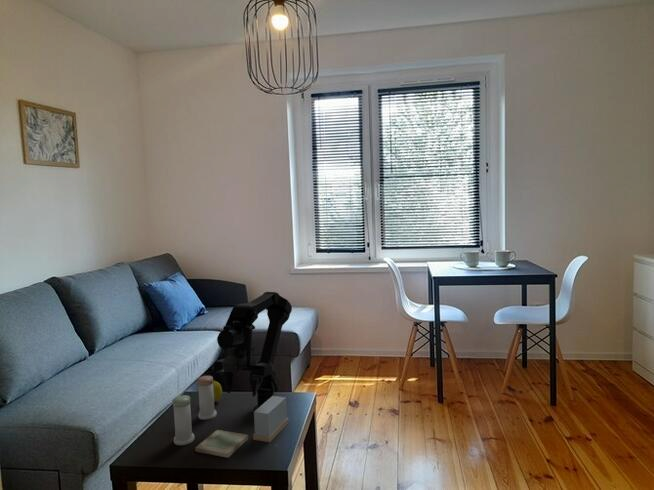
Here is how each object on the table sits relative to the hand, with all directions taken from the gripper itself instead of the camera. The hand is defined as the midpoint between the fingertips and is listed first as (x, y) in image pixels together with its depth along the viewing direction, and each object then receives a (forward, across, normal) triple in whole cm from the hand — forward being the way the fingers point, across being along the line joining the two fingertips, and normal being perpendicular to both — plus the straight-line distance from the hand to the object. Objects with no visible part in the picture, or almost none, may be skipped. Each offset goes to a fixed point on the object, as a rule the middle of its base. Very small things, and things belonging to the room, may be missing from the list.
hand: (241, 394), depth 145 cm
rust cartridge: (+10, -16, +5) cm, 20 cm away
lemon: (+9, -20, +15) cm, 26 cm away
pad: (+12, 0, -10) cm, 16 cm away
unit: (+10, +10, +2) cm, 15 cm away
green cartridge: (+12, -13, -11) cm, 21 cm away
